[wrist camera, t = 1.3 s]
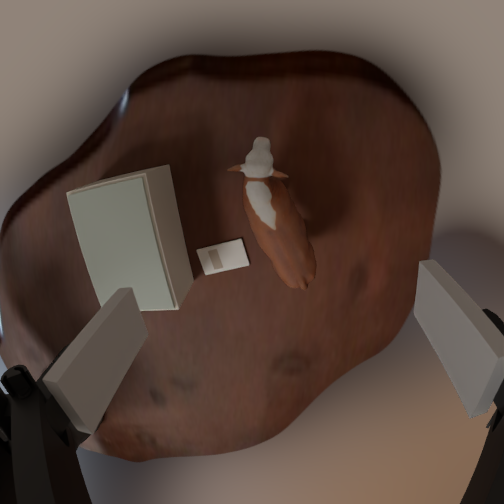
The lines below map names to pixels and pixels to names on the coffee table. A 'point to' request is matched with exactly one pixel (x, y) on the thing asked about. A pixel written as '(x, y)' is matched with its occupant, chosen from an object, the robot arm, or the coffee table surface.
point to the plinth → (133, 238)
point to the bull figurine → (276, 218)
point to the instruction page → (223, 257)
